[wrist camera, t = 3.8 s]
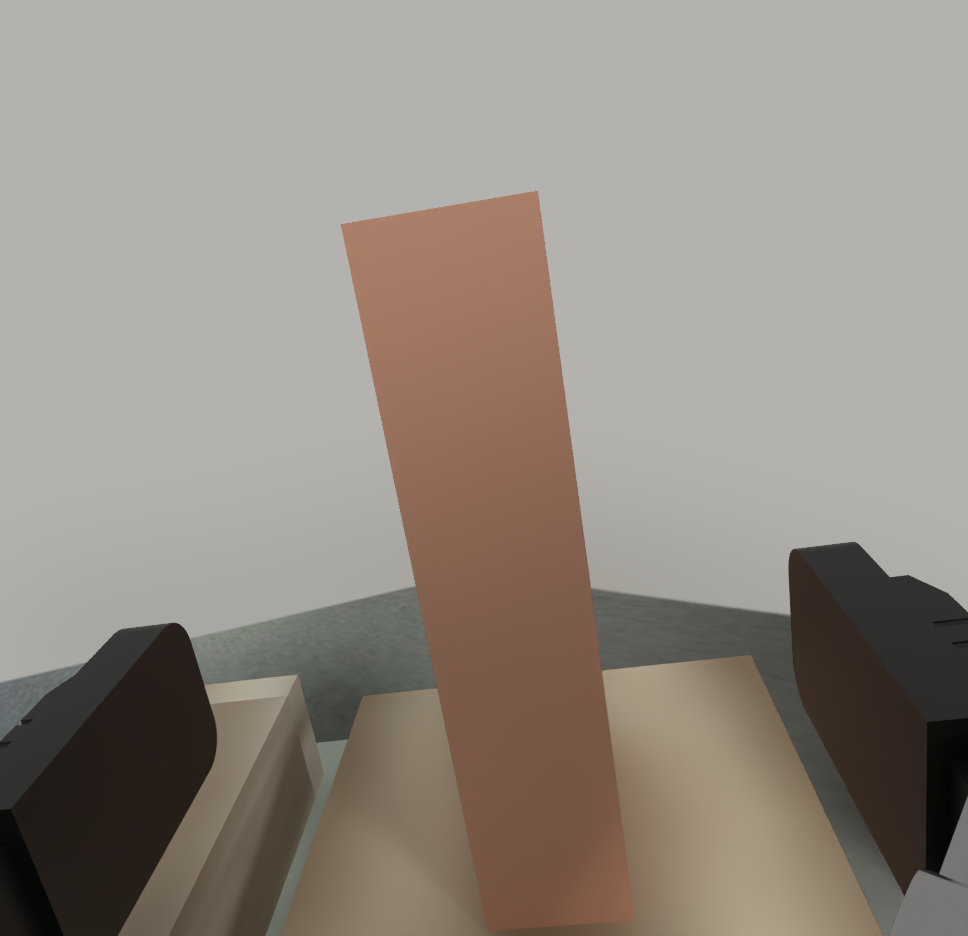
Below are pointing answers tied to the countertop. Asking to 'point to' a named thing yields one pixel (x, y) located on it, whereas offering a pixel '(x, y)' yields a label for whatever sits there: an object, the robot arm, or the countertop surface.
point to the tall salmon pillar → (497, 548)
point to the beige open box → (238, 818)
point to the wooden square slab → (644, 811)
